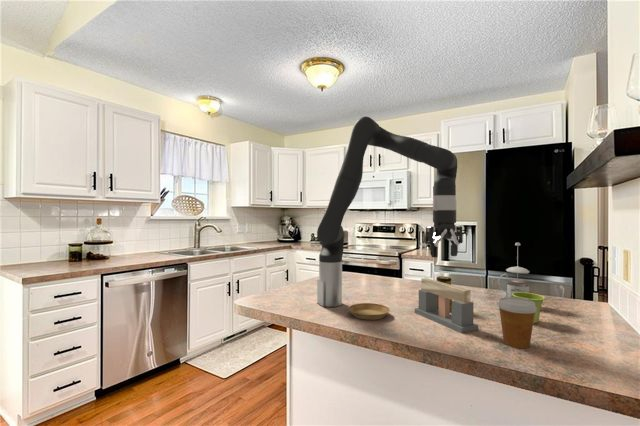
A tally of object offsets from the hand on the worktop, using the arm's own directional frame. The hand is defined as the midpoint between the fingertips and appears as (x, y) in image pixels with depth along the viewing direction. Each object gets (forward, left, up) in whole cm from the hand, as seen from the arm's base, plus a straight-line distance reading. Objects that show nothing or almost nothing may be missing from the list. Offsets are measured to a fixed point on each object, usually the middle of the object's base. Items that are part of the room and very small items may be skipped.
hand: (444, 256), depth 111 cm
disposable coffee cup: (+5, -23, -22) cm, 32 cm away
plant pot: (+27, -11, -22) cm, 36 cm away
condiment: (+10, +11, -22) cm, 26 cm away
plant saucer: (-20, +15, -22) cm, 34 cm away
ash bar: (0, 0, -13) cm, 13 cm away
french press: (+41, +4, -22) cm, 46 cm away
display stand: (0, 0, -22) cm, 22 cm away
